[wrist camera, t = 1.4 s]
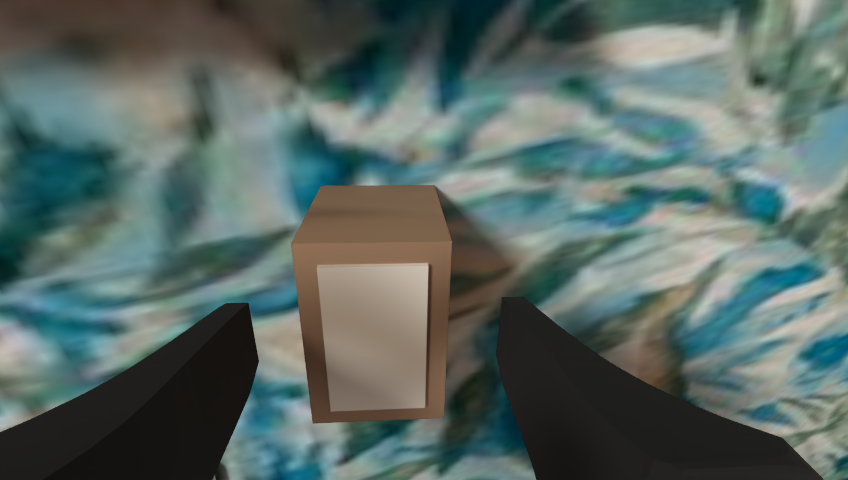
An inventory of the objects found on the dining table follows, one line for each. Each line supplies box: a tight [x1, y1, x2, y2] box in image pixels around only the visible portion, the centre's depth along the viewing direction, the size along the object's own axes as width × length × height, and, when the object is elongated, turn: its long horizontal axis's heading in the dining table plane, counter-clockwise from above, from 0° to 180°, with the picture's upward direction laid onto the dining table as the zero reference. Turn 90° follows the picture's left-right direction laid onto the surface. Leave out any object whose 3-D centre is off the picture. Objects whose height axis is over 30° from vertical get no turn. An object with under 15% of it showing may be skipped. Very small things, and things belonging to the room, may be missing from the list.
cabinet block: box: [291, 185, 452, 423], centre depth 14 cm, size 6×4×5 cm, turn 179°
